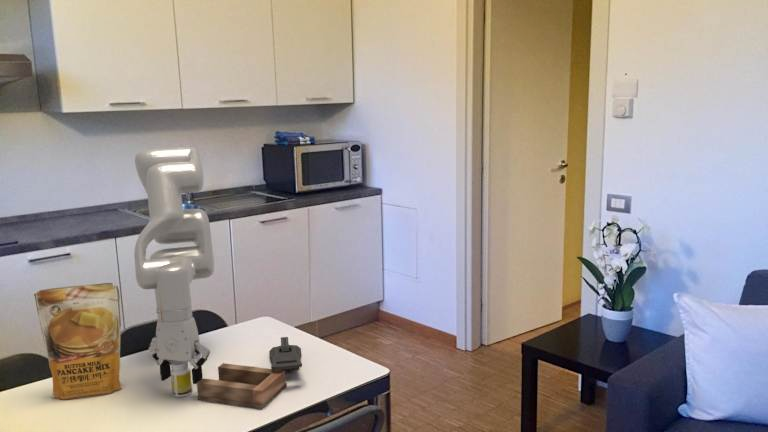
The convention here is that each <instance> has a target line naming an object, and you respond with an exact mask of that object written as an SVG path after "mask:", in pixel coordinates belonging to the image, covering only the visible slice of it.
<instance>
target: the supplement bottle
mask: <svg viewBox="0 0 768 432" xmlns="http://www.w3.org/2000/svg"><path fill="white" fill-rule="evenodd" d="M170 369H171V376H170V381H171V382H170V383H171V390H172V395H173V397H176V398H177V397H178V398H182V397H187V396H189V395H191V393H192V392H193V388H192V386H193V385H192V384H193V383H192V372H191V368H190V367H189V361H188V362H183V361H173V362H172V363H170Z"/></svg>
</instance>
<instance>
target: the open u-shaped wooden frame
mask: <svg viewBox="0 0 768 432" xmlns="http://www.w3.org/2000/svg"><path fill="white" fill-rule="evenodd" d="M217 371H218V379H212V378H203V377H202V379H201V380H200V381H198V382H197V384H196V388H197V389H196V390H197V396H196V401H198V402H204V403H205V402H206V403H212V404H213V403H215V404H219V405H220V404H221V405H226V406H233V407H240V408H249V409H255V410H260V411H261V410H264V408H266V407H267V406H268V405H269V404H270V403H271V402H272V401H273V400H274V399H275V398H276V397H277V396H278V395H279V394H280V393H281V392H283V391H284V389H285V388H286V387H287V384H288V383H287V382H286V373H285V371H284V370H272V369H271V368H266V367H258V366H257V367H256V366H250V365H249V366H248V365H243V364H234V363H233V364H232V363H224V362H223V363H221V364H220V365H219V366H217Z"/></svg>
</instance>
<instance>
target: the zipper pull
mask: <svg viewBox="0 0 768 432" xmlns="http://www.w3.org/2000/svg"><path fill="white" fill-rule="evenodd" d="M268 354H269V355H268V356H269V361H270V363H271V364H270V365H271V366H270V369H272V370H284V371H285V374H291V373H293V372H297V371H299V370H300V368H302V367H303V363H302V361H301V358H302V347H300V346H299V345H298V344H297V345H296V344H292V345H291V344H289V337H288V336H283V337H282V336H281V337H280V345H278V346H273V347H272V348H271V349H270V350H269V352H268Z"/></svg>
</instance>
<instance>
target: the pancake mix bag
mask: <svg viewBox="0 0 768 432" xmlns="http://www.w3.org/2000/svg"><path fill="white" fill-rule="evenodd" d="M113 284H114V283H113V282H104V283H96V284H95V283H93V284H87V285H72V286H63V287H62V286H60V287H53V288H47V289H41V290H39V291H37V292H35V293H33V296H34V300H35V305H36V310H37V315H38V318H39V322H40V323H39V324H40V330H41V334H42V338H43V342H44V348H45V350H46V353H47V359H48V365H49V369H50V373H51V377H52V378H51V379H52V396H51V398H52V399H60V400H73V399H84V398H89V397H98V396H107V395H111V394H114V393H115V392H116V391H118V390H122V389H123V387H122V384H121V380H120V373H121V372H120V369H121V337H122V336H121V335H122V334H121V326H122V319H121V307H120V306H121V305H120V298H121V297H120V290H119V287H118V285H113Z"/></svg>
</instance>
